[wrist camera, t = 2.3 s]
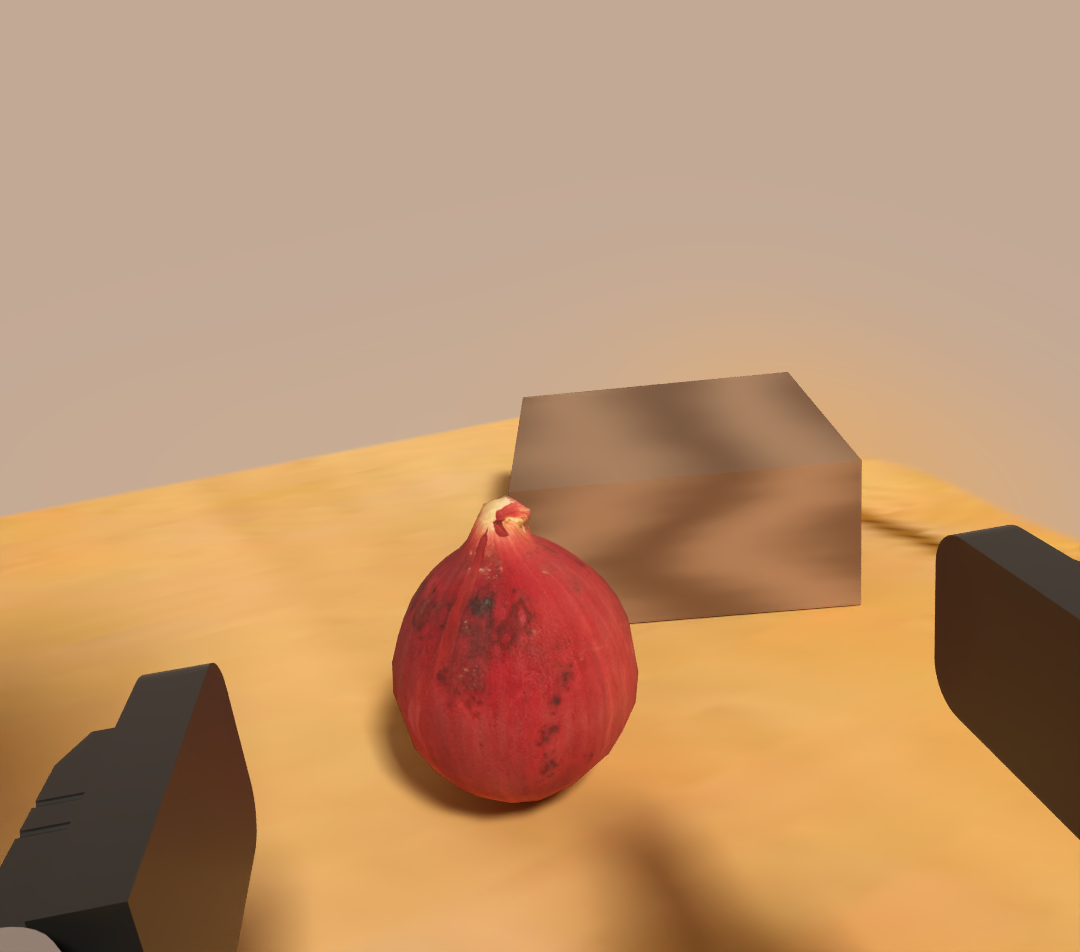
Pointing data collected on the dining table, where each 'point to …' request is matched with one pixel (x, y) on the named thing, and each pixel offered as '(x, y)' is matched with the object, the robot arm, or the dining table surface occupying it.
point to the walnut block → (696, 495)
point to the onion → (514, 663)
